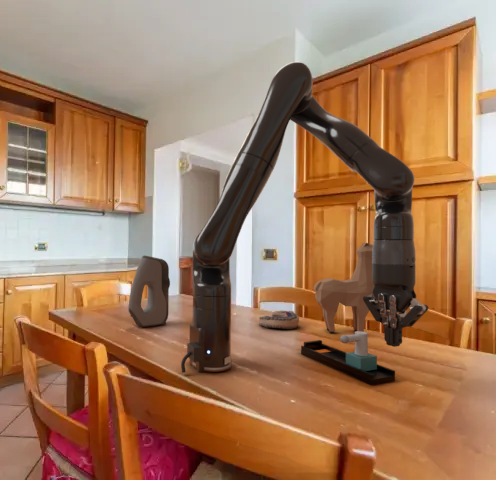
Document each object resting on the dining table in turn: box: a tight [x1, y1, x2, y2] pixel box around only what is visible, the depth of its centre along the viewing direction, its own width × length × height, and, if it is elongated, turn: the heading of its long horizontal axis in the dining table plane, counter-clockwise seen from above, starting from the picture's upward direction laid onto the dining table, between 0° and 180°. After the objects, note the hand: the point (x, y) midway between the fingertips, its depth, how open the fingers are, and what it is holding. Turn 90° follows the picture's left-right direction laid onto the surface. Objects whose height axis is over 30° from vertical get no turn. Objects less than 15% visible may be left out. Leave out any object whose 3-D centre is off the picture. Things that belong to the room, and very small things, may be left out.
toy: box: [312, 242, 374, 335], centre depth 112 cm, size 9×20×30 cm, turn 78°
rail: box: [300, 339, 396, 386], centre depth 81 cm, size 7×21×3 cm, turn 21°
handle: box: [339, 331, 378, 371], centre depth 76 cm, size 8×4×8 cm, turn 111°
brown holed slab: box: [127, 255, 171, 328], centre depth 119 cm, size 6×15×25 cm, turn 125°
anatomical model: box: [258, 310, 300, 330], centre depth 120 cm, size 12×16×5 cm
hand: (393, 345), depth 69 cm, fingers closed
